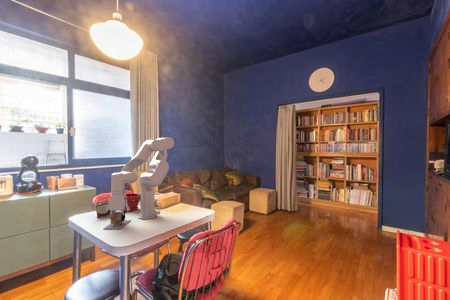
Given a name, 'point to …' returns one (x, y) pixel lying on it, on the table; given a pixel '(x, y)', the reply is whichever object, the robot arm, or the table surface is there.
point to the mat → (117, 225)
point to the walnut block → (116, 217)
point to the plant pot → (130, 202)
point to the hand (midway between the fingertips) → (117, 220)
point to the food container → (102, 209)
